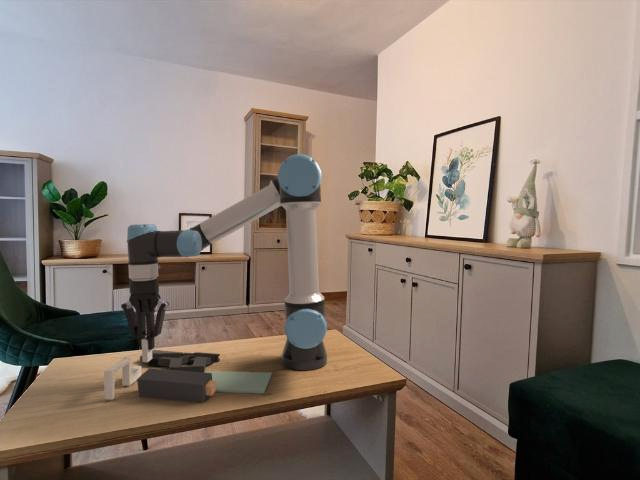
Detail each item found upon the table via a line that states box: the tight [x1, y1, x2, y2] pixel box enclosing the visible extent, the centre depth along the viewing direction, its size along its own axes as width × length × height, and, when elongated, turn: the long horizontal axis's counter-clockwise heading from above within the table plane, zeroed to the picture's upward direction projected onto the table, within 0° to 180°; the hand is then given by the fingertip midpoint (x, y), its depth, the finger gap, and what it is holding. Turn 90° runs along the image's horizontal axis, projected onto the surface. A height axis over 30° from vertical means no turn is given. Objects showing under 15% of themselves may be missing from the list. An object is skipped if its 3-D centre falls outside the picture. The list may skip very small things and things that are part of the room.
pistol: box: [139, 349, 221, 372], centre depth 114 cm, size 2×26×15 cm
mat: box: [204, 370, 273, 394], centre depth 103 cm, size 26×12×1 cm, turn 88°
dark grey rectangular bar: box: [136, 367, 216, 404], centre depth 95 cm, size 20×5×5 cm, turn 81°
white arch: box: [103, 357, 142, 400], centre depth 99 cm, size 2×14×7 cm, turn 178°
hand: (147, 360), depth 104 cm, fingers closed
